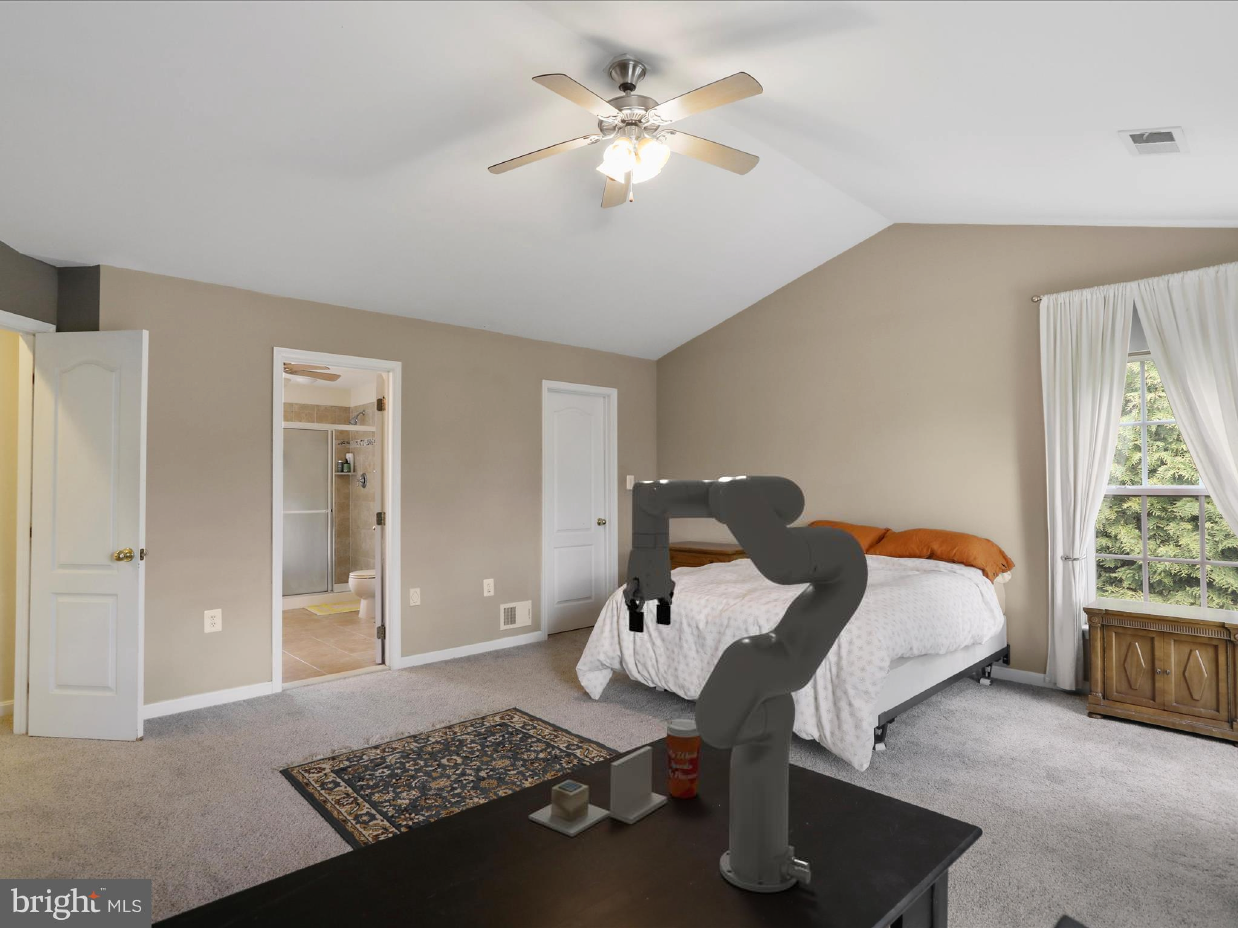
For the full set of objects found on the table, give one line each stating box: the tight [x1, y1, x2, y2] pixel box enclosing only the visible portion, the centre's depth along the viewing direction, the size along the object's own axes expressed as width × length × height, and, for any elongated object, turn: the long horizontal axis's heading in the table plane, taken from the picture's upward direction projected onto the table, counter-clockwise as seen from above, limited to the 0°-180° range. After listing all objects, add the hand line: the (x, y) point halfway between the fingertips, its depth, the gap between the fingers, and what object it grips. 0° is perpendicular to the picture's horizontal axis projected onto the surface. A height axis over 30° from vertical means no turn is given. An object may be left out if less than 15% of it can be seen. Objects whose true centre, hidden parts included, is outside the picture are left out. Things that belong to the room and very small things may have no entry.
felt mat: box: [528, 803, 610, 838], centre depth 136 cm, size 11×11×1 cm
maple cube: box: [550, 779, 590, 822], centre depth 136 cm, size 5×5×5 cm
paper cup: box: [665, 718, 702, 799], centre depth 148 cm, size 8×8×14 cm
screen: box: [609, 745, 668, 825], centre depth 140 cm, size 5×12×10 cm, turn 142°
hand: (650, 627), depth 143 cm, fingers open, 9 cm apart
